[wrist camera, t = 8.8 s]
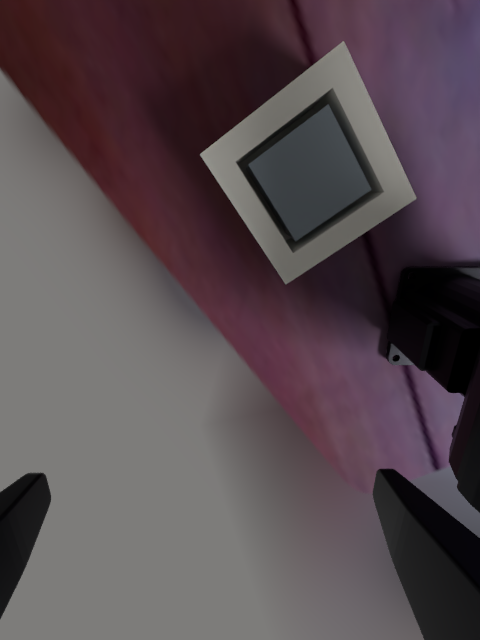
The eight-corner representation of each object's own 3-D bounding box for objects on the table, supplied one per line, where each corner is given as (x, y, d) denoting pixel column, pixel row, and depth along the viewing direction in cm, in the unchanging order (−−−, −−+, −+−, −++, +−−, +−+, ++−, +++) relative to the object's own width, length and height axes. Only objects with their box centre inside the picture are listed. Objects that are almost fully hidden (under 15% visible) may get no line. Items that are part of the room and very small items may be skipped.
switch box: (318, 74, 17) (343, 40, 13) (380, 197, 19) (416, 198, 15) (206, 162, 18) (199, 154, 14) (275, 267, 20) (285, 284, 16)
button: (312, 118, 17) (328, 104, 14) (349, 189, 18) (371, 189, 15) (245, 168, 17) (248, 164, 14) (286, 233, 19) (295, 241, 16)
